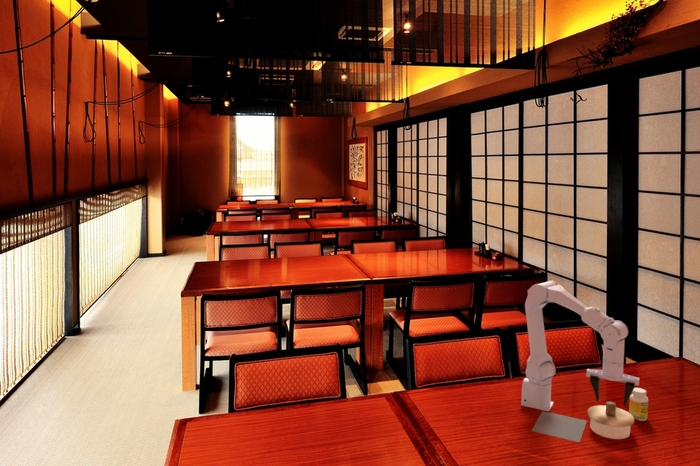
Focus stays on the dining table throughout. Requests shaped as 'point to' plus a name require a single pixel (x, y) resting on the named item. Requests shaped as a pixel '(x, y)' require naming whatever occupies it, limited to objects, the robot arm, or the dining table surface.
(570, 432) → the mat
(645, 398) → the supplement bottle
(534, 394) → the robot arm
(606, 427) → the bowl
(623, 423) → the lid
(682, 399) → the dining table surface
